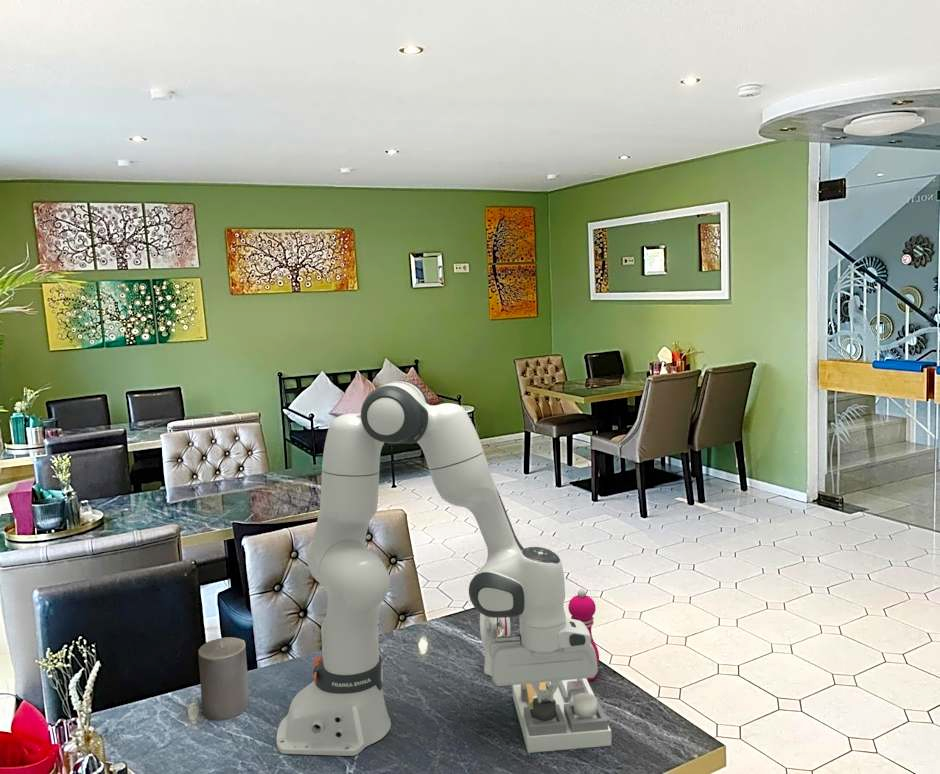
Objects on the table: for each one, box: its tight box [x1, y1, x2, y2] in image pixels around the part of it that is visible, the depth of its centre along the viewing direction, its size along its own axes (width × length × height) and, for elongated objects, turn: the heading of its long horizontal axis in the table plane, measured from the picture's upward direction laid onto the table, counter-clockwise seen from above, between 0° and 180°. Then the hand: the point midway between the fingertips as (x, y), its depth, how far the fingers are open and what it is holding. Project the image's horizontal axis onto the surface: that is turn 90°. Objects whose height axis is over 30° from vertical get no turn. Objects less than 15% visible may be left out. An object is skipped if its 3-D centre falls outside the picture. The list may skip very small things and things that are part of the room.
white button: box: [574, 693, 598, 717], centre depth 147 cm, size 4×4×2 cm
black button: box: [533, 698, 556, 721], centre depth 147 cm, size 4×4×2 cm
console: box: [511, 678, 612, 754], centre depth 153 cm, size 16×20×6 cm
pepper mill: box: [568, 588, 600, 682], centre depth 170 cm, size 7×7×20 cm
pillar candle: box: [198, 636, 250, 721], centre depth 162 cm, size 10×10×15 cm
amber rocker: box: [525, 682, 547, 707], centre depth 156 cm, size 4×8×2 cm, turn 5°
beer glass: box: [479, 612, 511, 677], centre depth 174 cm, size 7×7×15 cm
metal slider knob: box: [567, 681, 585, 703], centre depth 155 cm, size 3×3×3 cm
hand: (545, 700), depth 147 cm, fingers closed
